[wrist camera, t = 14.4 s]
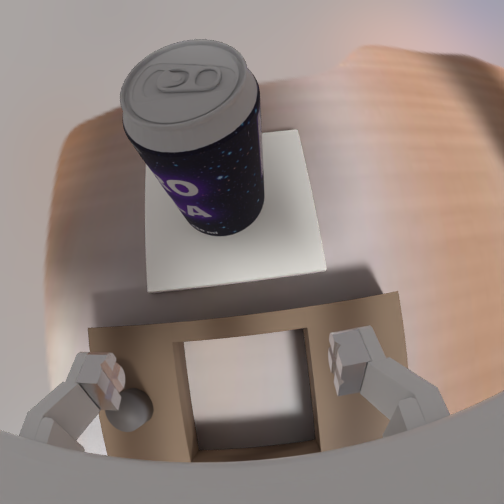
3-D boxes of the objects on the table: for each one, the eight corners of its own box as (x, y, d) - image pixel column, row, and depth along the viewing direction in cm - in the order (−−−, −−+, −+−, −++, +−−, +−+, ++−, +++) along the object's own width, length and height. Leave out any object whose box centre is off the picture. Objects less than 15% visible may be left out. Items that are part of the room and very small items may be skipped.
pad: (296, 135, 23) (297, 129, 23) (324, 271, 21) (326, 269, 20) (149, 157, 24) (146, 152, 23) (151, 293, 21) (147, 291, 20)
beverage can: (191, 164, 22) (136, 40, 11) (268, 168, 22) (264, 32, 10) (177, 236, 21) (90, 140, 9) (260, 244, 21) (249, 137, 9)
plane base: (384, 295, 20) (411, 286, 16) (397, 434, 18) (424, 454, 13) (105, 328, 21) (71, 326, 16) (126, 460, 18) (98, 481, 14)
